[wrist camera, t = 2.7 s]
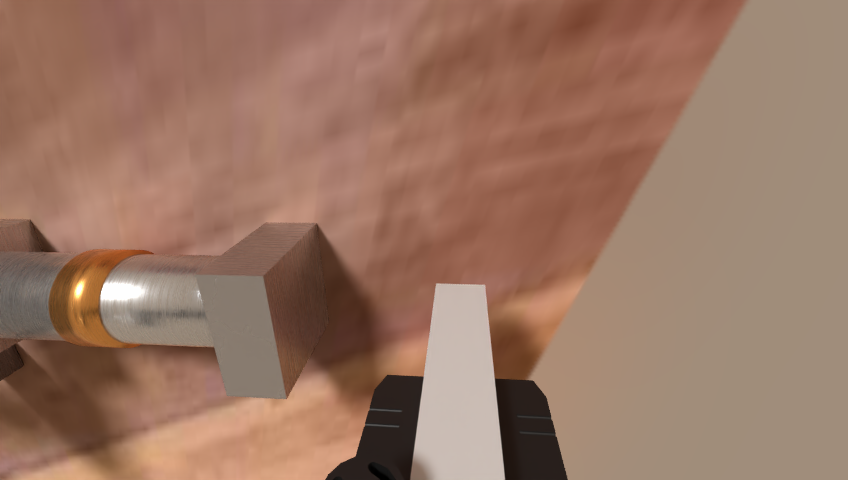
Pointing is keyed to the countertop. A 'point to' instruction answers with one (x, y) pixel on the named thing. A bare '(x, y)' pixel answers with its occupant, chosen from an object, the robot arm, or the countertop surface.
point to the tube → (175, 301)
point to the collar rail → (9, 362)
